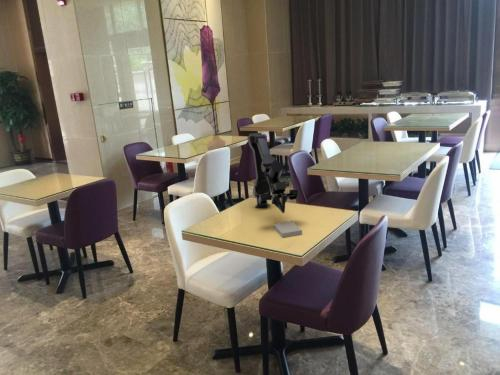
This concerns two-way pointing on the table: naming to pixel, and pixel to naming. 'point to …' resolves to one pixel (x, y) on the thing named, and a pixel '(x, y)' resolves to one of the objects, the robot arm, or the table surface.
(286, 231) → the tile
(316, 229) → the table surface
